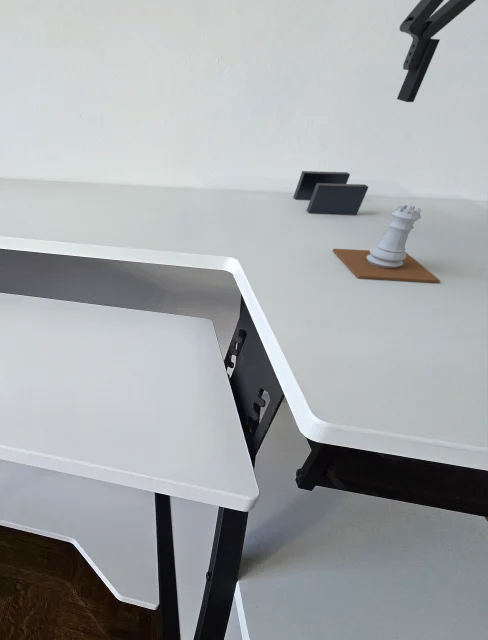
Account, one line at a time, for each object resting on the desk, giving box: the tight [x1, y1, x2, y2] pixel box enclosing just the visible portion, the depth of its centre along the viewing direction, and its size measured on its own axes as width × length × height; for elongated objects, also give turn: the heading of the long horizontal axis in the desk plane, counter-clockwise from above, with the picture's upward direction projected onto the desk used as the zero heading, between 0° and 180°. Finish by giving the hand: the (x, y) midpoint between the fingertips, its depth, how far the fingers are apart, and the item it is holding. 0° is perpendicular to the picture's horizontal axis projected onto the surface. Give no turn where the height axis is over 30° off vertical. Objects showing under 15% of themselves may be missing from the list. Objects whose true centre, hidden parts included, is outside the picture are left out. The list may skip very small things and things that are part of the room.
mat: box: [332, 248, 441, 284], centre depth 72 cm, size 10×10×1 cm
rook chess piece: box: [367, 204, 422, 269], centre depth 69 cm, size 4×4×8 cm
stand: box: [293, 170, 369, 216], centre depth 93 cm, size 8×10×5 cm
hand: (465, 100), depth 62 cm, fingers open, 13 cm apart
